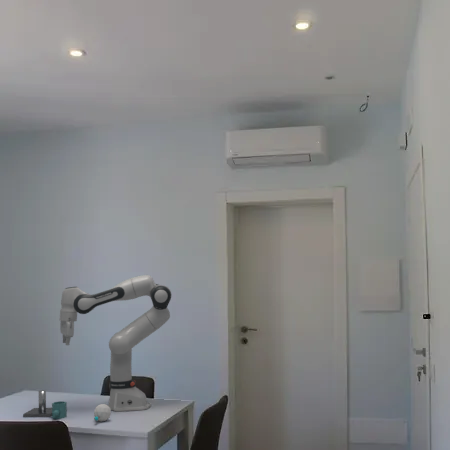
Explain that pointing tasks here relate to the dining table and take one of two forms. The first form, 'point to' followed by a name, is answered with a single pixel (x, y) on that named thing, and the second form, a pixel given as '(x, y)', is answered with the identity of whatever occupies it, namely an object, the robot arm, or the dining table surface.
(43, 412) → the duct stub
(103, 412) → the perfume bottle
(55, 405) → the sleeve
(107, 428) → the dining table surface
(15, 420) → the dining table surface
